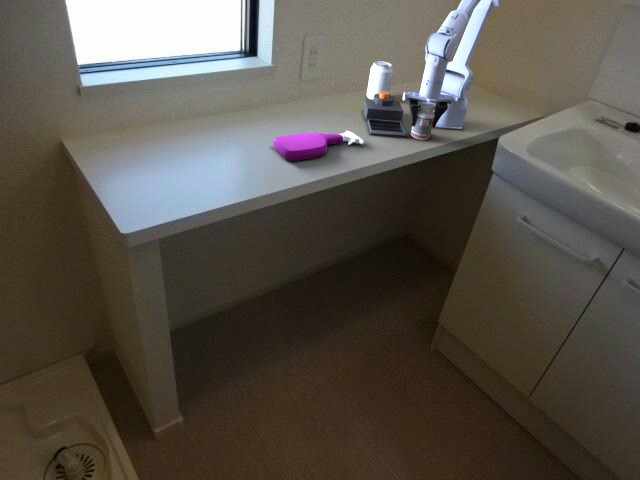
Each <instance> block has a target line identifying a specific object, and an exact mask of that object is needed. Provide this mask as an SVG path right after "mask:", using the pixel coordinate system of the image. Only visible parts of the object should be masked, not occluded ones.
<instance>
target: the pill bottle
mask: <svg viewBox="0 0 640 480" xmlns="http://www.w3.org/2000/svg"><path fill="white" fill-rule="evenodd" d="M418 105H419V109H418V111H417V115H416V119H415V124H414V126H411V130H410V136H411V137H412V138H414V139H417V140H420V141H426V140H428V139H430V138H431V133H432V129H433V128H432V126H433V122H434V118H435V113H434V110H435V106H436V105H435V103H430V102H421V101H419V102H418Z"/></svg>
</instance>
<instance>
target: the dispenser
mask: <svg viewBox="0 0 640 480" xmlns="http://www.w3.org/2000/svg"><path fill="white" fill-rule="evenodd" d="M403 114H404V109H403V107H402V105H401V102H400V101H399V100H398V101H397V100H395V97H394V96H393V95H391V94H390V96H389V99H381V98H379V93H378V94H375V95H374V99H369V98H365V99H364V106H363V116H364V120H365V122H367V120H368V119H380V120H393V121H401V122H402V120H403V116H404V115H403Z"/></svg>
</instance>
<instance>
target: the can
mask: <svg viewBox="0 0 640 480" xmlns="http://www.w3.org/2000/svg"><path fill="white" fill-rule="evenodd" d="M393 74H394V69H393V64H392V63H390V62H388V61H383V60H376V61H373V63H372V65H371V67H370V71H369V78H368V85H367V91H366V97H367V99H374V95H375V94H378V93H380V91H387V92H389V93H390V91H391V85H392V79H393Z"/></svg>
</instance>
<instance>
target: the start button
mask: <svg viewBox="0 0 640 480" xmlns="http://www.w3.org/2000/svg"><path fill="white" fill-rule="evenodd" d="M390 95H391V93H390V91H389V92H387V91H380V93H379V98H381V99H389V96H390Z"/></svg>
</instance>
